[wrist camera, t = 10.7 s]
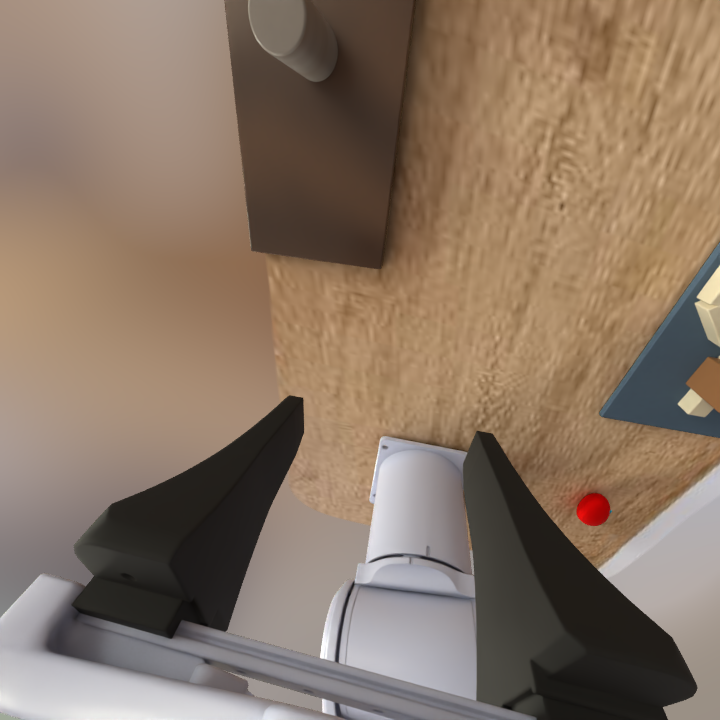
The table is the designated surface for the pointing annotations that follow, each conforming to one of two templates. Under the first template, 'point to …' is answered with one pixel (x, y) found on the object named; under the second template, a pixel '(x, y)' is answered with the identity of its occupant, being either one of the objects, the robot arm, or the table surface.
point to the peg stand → (319, 122)
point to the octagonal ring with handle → (715, 375)
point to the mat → (670, 368)
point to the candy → (593, 509)
